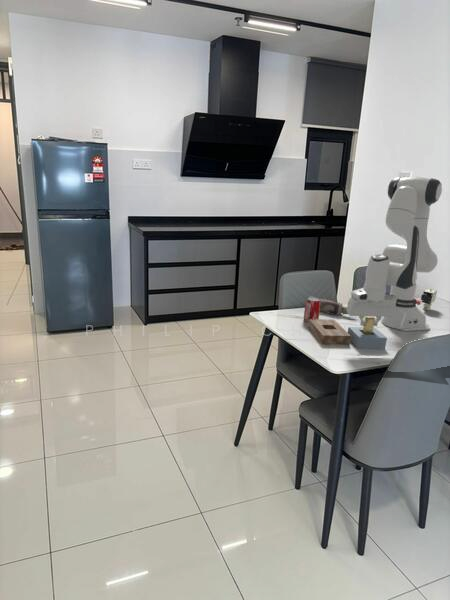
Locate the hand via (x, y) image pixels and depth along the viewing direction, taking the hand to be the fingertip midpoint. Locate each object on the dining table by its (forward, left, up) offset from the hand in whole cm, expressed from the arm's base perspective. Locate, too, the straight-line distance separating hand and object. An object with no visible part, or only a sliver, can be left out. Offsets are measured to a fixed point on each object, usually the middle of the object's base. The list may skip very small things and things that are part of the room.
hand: (368, 325), depth 186 cm
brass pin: (0, 0, -7) cm, 7 cm away
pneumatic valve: (-58, -53, -9) cm, 79 cm away
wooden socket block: (+14, -8, -9) cm, 19 cm away
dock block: (0, 0, -9) cm, 9 cm away
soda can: (+16, -27, -9) cm, 33 cm away
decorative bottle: (+2, -43, -10) cm, 44 cm away
